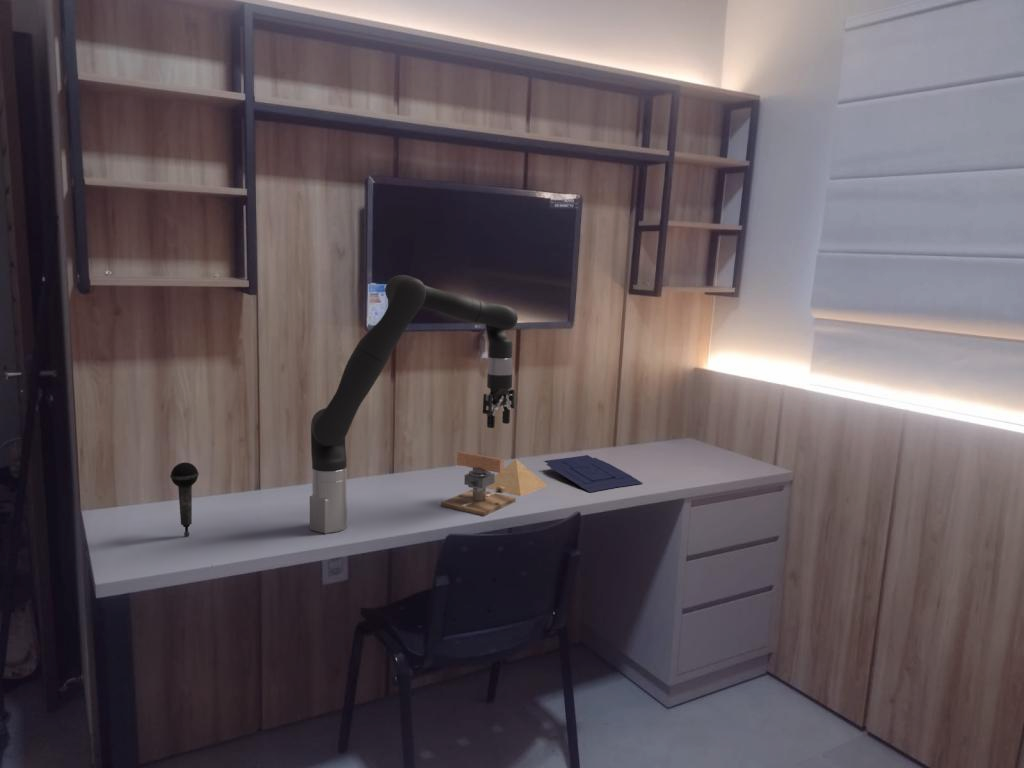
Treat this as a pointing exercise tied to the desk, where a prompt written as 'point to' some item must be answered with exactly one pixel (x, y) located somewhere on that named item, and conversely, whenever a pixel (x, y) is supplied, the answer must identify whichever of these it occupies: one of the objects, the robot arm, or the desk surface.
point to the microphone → (185, 490)
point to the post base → (478, 501)
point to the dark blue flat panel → (591, 473)
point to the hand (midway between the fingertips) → (498, 425)
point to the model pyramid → (516, 480)
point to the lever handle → (479, 468)
